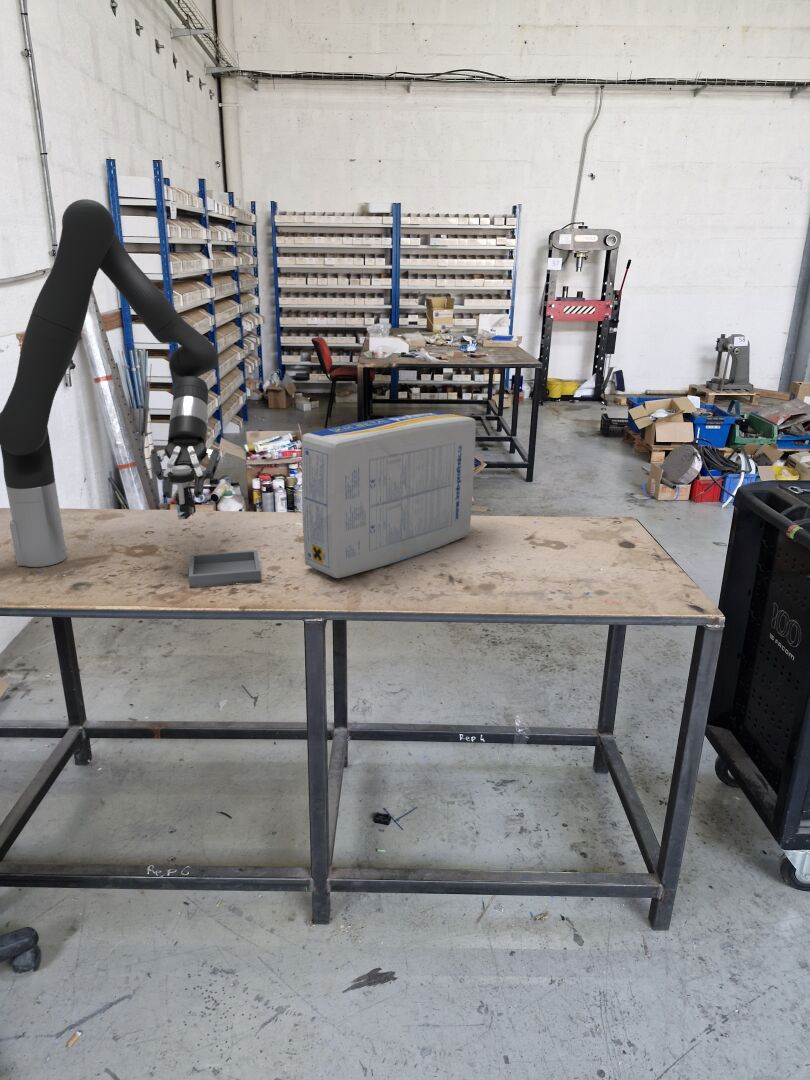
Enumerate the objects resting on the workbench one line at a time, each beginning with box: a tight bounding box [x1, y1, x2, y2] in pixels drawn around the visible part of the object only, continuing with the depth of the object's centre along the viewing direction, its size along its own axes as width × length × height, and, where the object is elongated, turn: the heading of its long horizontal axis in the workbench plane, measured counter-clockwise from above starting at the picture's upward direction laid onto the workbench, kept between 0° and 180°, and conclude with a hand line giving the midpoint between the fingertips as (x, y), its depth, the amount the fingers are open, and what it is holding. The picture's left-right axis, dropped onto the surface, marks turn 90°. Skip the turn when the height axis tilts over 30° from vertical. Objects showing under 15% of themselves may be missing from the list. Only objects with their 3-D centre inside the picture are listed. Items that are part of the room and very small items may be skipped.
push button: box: [168, 465, 197, 520], centre depth 141 cm, size 7×5×10 cm
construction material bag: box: [301, 411, 477, 579], centre depth 157 cm, size 43×12×30 cm, turn 135°
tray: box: [188, 549, 262, 589], centre depth 148 cm, size 14×12×2 cm
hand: (182, 495), depth 141 cm, fingers closed on push button, 5 cm apart
